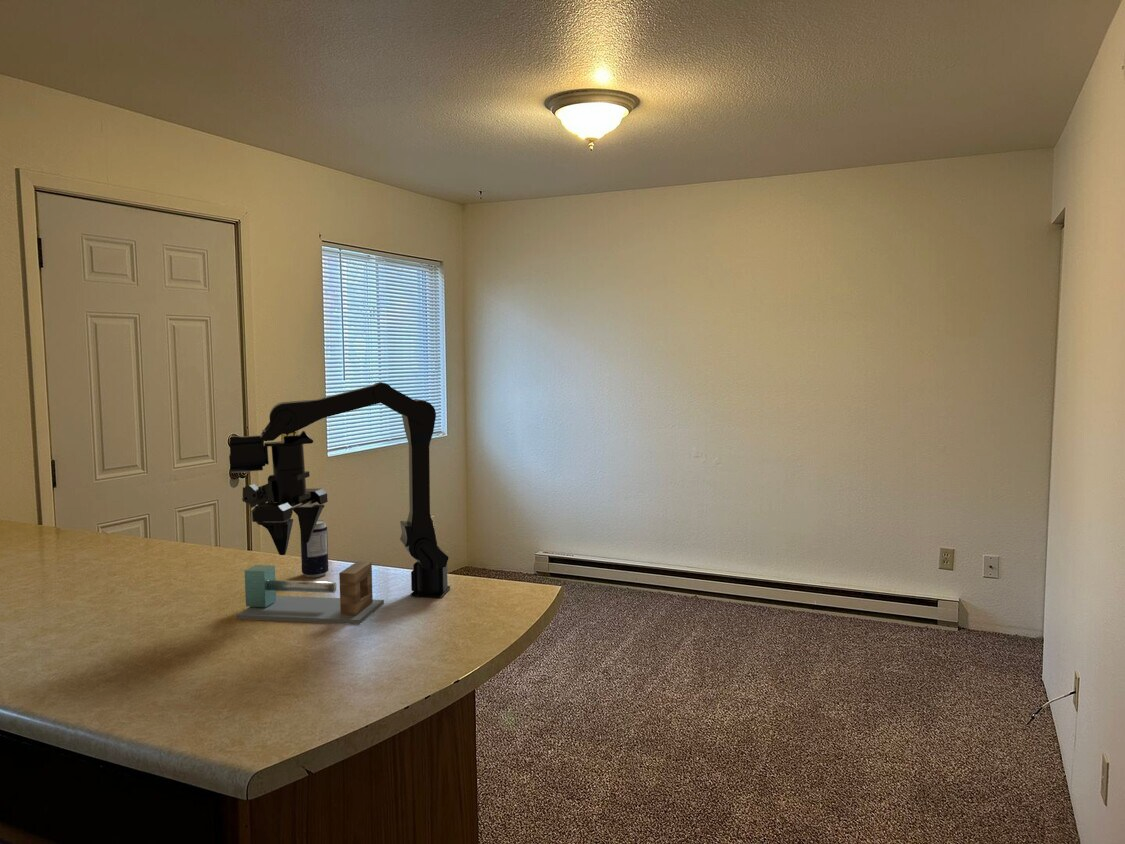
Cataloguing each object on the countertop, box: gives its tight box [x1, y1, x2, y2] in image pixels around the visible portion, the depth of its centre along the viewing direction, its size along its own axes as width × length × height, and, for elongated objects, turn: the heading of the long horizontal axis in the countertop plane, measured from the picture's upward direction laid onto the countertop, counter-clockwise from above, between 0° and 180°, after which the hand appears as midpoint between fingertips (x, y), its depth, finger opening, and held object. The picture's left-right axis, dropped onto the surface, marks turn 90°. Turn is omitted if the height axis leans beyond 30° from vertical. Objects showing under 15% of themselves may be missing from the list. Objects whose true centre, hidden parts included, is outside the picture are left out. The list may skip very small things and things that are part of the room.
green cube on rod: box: [244, 564, 337, 608], centre depth 150 cm, size 17×4×7 cm, turn 82°
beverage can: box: [299, 519, 329, 578], centre depth 174 cm, size 6×6×12 cm
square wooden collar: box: [338, 561, 374, 616], centre depth 148 cm, size 3×8×8 cm, turn 172°
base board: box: [236, 595, 385, 625], centre depth 150 cm, size 24×12×1 cm, turn 82°
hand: (294, 548), depth 150 cm, fingers open, 9 cm apart
